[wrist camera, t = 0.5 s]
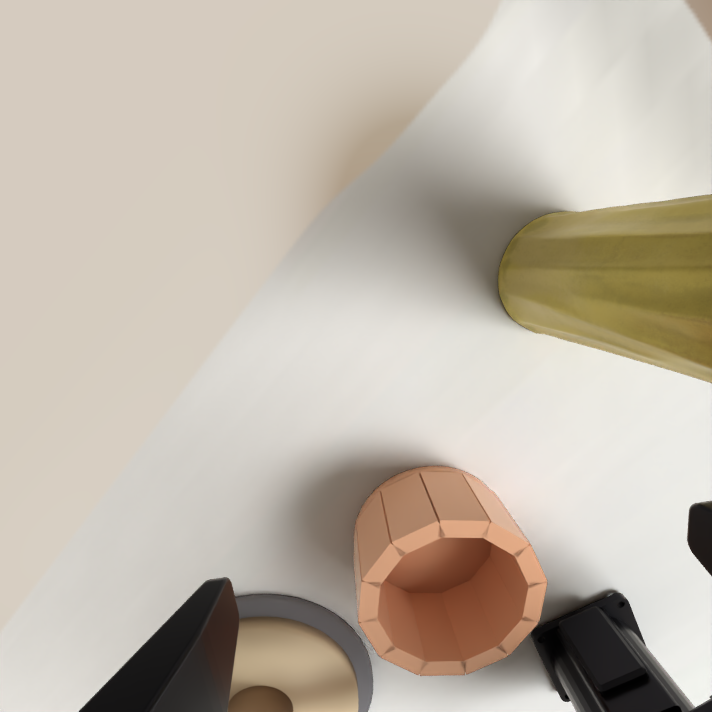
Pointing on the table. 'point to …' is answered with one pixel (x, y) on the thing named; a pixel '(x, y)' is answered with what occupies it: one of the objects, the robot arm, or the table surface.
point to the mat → (322, 622)
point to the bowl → (443, 573)
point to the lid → (290, 669)
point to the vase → (619, 281)
